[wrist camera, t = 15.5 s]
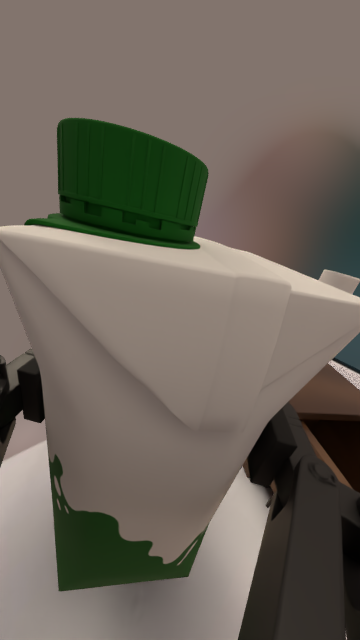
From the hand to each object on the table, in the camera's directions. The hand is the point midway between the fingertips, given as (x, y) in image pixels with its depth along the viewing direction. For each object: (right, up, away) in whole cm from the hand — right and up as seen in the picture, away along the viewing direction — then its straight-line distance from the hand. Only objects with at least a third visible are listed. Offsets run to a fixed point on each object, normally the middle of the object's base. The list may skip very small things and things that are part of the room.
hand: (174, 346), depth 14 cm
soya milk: (-3, -12, +1) cm, 12 cm away
